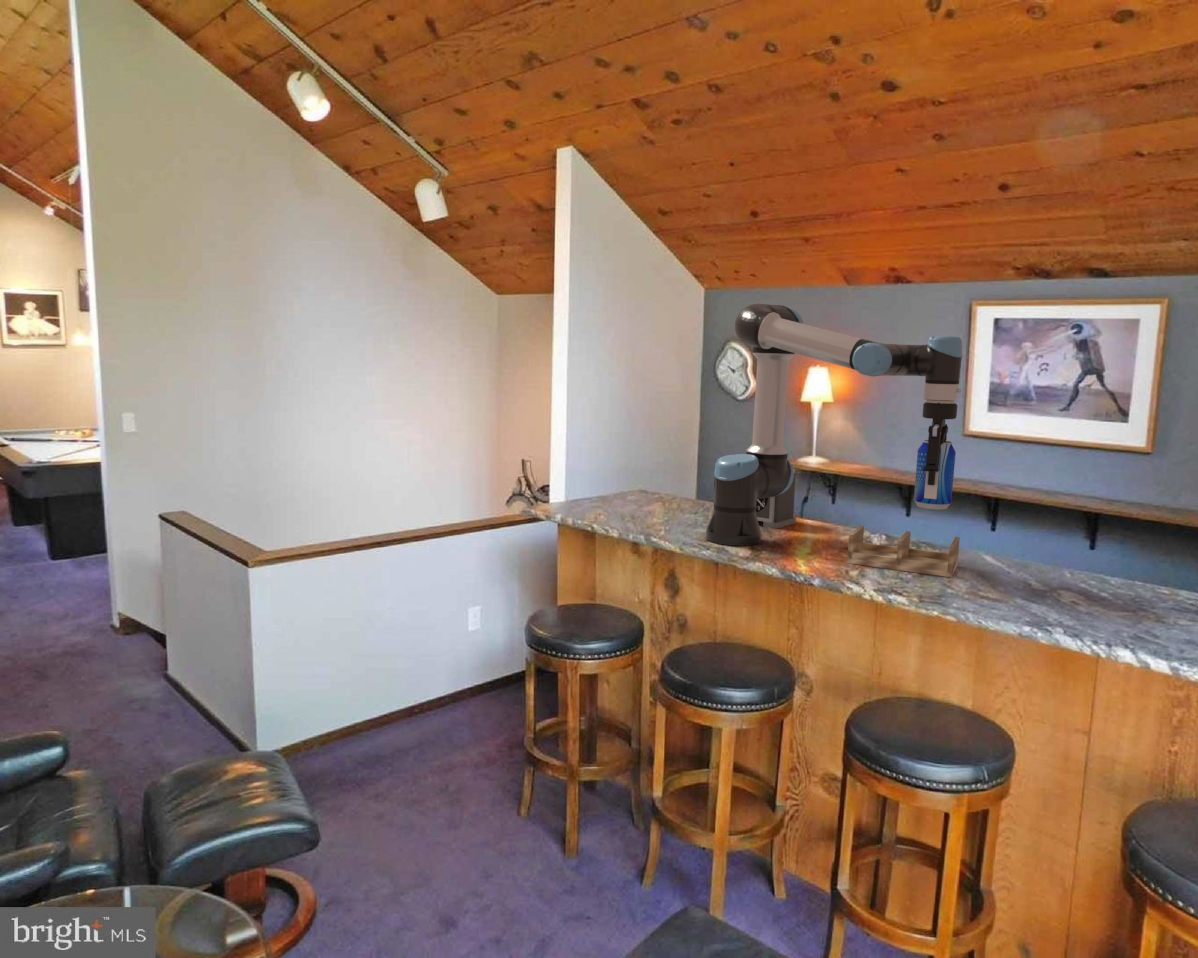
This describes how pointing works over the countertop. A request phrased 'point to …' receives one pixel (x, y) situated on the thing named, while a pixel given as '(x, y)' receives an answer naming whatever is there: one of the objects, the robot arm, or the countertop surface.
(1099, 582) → the countertop surface
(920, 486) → the beer can
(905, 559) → the rack
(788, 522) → the alarm clock
